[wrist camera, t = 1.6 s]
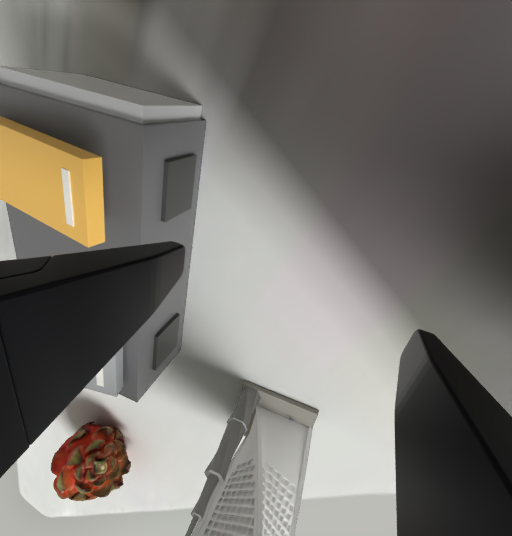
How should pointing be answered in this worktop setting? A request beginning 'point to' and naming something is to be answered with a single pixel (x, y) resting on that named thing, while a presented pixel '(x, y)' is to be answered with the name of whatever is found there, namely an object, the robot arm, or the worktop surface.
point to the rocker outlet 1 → (52, 182)
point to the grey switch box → (119, 184)
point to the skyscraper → (257, 469)
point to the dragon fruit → (90, 463)
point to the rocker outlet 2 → (109, 376)
